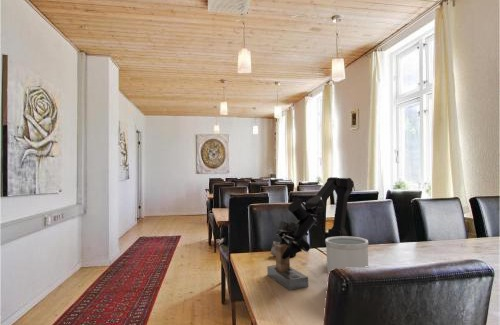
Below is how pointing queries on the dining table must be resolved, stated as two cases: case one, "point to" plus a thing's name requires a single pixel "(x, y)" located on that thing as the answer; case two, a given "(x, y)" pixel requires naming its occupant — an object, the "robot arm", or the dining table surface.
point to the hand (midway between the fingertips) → (279, 256)
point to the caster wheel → (273, 250)
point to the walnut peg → (280, 262)
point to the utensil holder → (346, 252)
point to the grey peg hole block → (288, 278)
